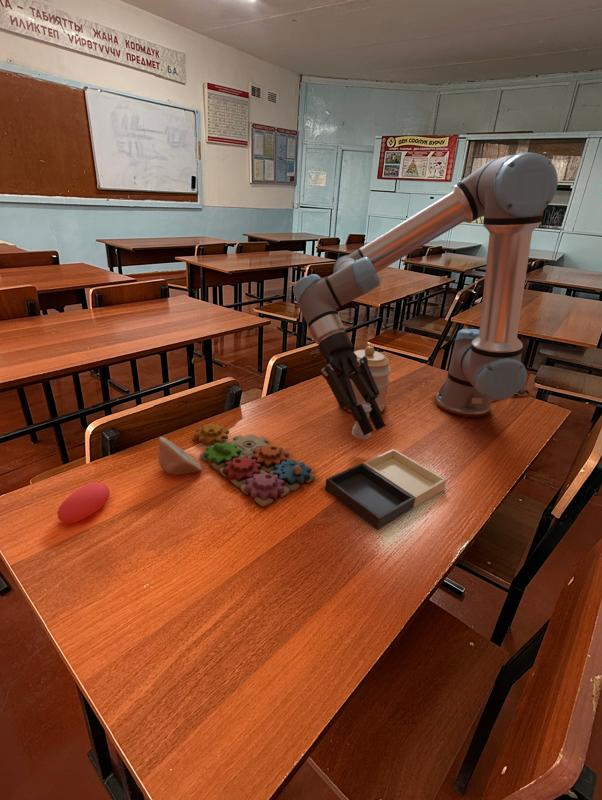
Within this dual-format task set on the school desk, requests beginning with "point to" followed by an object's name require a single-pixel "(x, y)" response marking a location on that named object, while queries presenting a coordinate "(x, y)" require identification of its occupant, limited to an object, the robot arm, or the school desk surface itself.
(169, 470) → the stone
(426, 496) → the light tray
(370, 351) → the jar
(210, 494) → the school desk surface
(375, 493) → the dark tray
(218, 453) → the gear puzzle
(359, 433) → the rook chess piece
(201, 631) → the school desk surface
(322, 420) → the school desk surface
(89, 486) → the stress ball
